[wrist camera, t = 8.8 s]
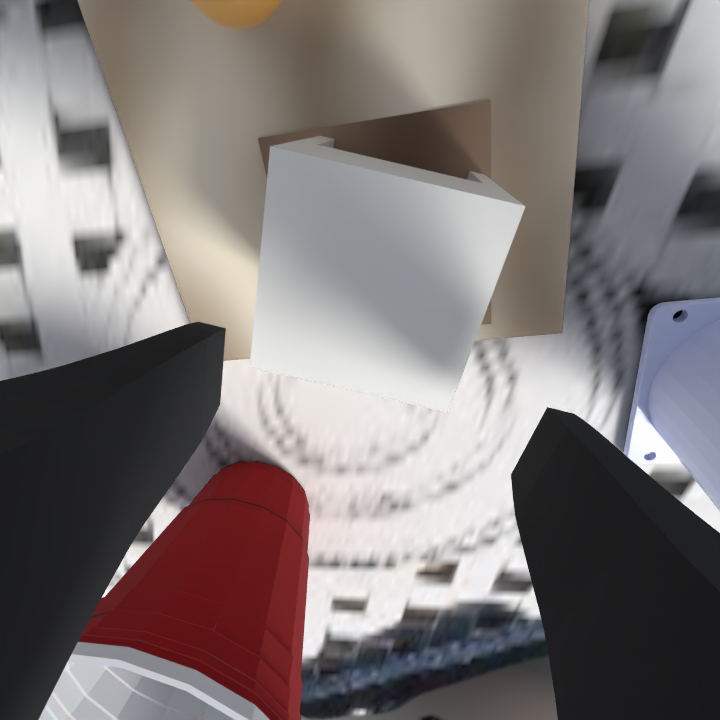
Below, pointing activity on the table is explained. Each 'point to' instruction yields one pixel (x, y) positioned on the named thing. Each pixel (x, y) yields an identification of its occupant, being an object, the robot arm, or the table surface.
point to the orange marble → (237, 11)
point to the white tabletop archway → (375, 271)
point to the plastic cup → (203, 613)
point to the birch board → (347, 125)
